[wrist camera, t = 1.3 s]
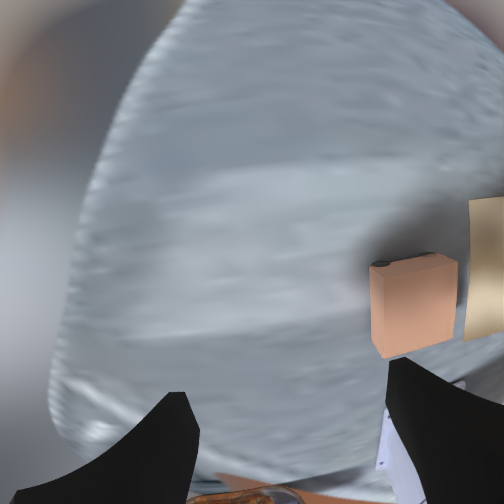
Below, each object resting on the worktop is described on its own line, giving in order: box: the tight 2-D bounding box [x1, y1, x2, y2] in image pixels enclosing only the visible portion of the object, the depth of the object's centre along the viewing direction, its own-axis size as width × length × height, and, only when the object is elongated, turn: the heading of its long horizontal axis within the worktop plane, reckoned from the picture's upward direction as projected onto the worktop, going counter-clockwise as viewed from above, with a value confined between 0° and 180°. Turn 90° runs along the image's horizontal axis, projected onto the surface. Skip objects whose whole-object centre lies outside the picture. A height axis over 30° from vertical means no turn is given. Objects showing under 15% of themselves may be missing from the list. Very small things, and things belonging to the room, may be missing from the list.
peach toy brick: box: [369, 252, 458, 359], centre depth 16 cm, size 5×5×3 cm
